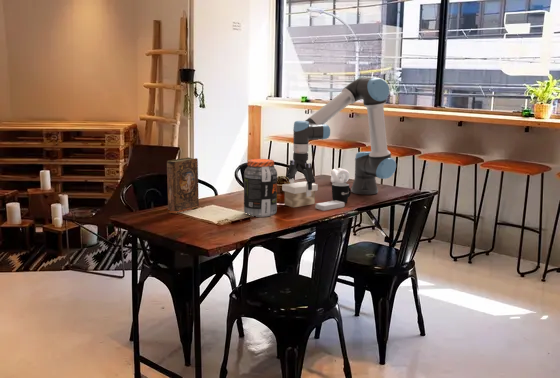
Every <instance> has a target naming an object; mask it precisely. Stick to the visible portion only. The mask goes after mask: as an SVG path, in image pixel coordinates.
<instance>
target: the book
mask: <svg viewBox="0 0 560 378" xmlns="http://www.w3.org/2000/svg"><path fill="white" fill-rule="evenodd" d="M198 162H199V160H198V158H196V157H195V158H191V157H189V156H188V157H183V158H177V159H170V160H166V177H167V179H166V181H167V182H166V183H167V211H168V210H170V211H179V210H183V209H187V208H192V207H196V206H198V207H199V205H200V204H199V200H200V199H199V163H198Z"/></svg>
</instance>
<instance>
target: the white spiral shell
mask: <svg viewBox="0 0 560 378" xmlns="http://www.w3.org/2000/svg"><path fill="white" fill-rule="evenodd" d="M330 174H331V176H330V182H331V183H332V184H333V183H347V182H348V181H349V179H350V172H349V171H348V170H347V169H344V168H342V167H338V168H333V169H332V170H330Z"/></svg>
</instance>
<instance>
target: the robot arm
mask: <svg viewBox="0 0 560 378" xmlns="http://www.w3.org/2000/svg"><path fill="white" fill-rule="evenodd" d="M389 95H390V87H389V84H388V82H387V81H386V80H385V79H383V78H380V77H358V78H357V79H355V80H354V81H351V82H350V83H349V84H347V85H346V86H345V87H344V88H342V89H341V92H340V93H339V94H337V95H336V96H335V97H334V98H332V99H331V100H330V101H328V102H327V103H326V104H325V105H323V106H322V107H321V108H320V109H318V110H317V111H315V113H313V114H312V115H311V116H309V117H308V118H307V119H305V120H296V121H294V123H293V128H292V129H293V147H292V149H293V153H292V159H290V161H289V165H288V168H287V172H286V174H285V177H286V178H287V179H288V183H289V182H290V183H295V178H294V177H295V176H296V174H297V173H298V171H300V172H301V173H302V174H303V176H304V178H305V180H306V182H307V184H306V197H308V196H311V190H312V183H314V184H316V180H315V174H314V172H313V169H312V163H311V162H310V163H307V161H308V160H309V153H308V152H309V142H310V141H311V140H312V141H314V140H316V141H317V140H327V139H329V137H330V136H331V128H330V126H329V124H326V123H328V121H330V120H331V119H332V118H333V117H335V116H336V115H338V113H340V112H341V111H343V110H344V109H345V108H346V107H348V106H349V105H350V104H352V105H353V104H355V103H356V102H357V101H363V106H364V107H366V111H367V119H368V120H367V122H368V130H369V140H370V151H358V152H356V154H355V159H354V161H355V164H354V179H353V182H352V186H351V188H350V189H351V193H352V194H359V195H375V194H378V192H379V187H378V185H377V179H376V178H378V179H383V180H386V179H389V178H391V177H392V176H393V175H394V173H395V172H396V168H397V163H396V160H395V159H394V158H392V153H391V151H390V150H389V149H388V143H387V142H388V139H387V130H386V129H387V128H386V122H385V121H386V120H385V108H384V105H385V104H386V103H387V100H386V99H388V96H389Z"/></svg>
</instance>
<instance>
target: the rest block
mask: <svg viewBox="0 0 560 378" xmlns="http://www.w3.org/2000/svg"><path fill="white" fill-rule="evenodd" d="M345 204H346V203H345V202H341V201H337V200H335V201H333V200H330V201H324V202H318V203H315V205H314V206H315V207H314V209H318V210H319V211H323V212H324V211H329V210H334V209H341V208H344V207H345Z"/></svg>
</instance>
